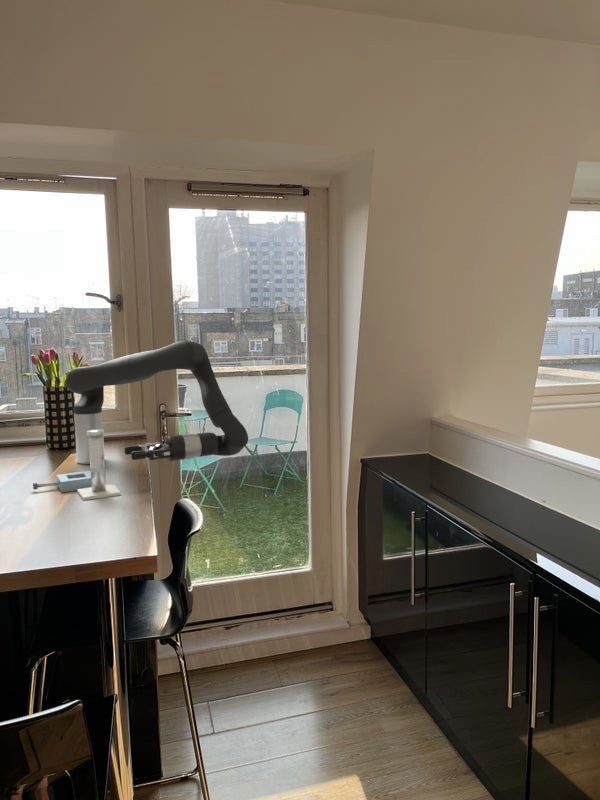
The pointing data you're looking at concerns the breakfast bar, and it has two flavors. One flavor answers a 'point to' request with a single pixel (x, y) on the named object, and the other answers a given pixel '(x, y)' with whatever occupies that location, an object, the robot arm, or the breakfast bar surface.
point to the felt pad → (88, 494)
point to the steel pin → (97, 460)
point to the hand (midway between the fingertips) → (128, 453)
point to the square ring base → (69, 481)
